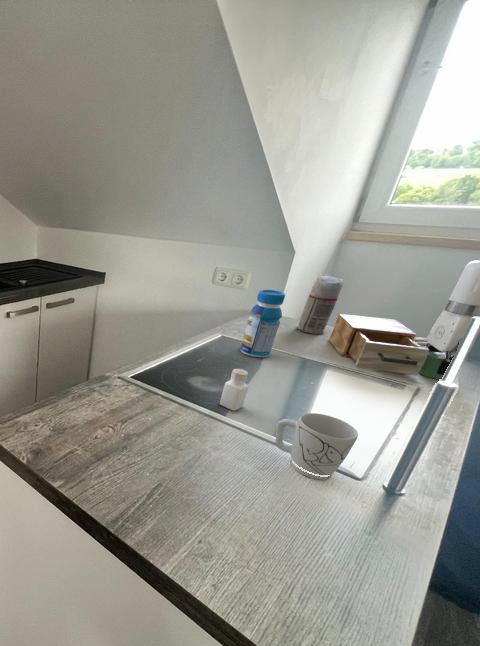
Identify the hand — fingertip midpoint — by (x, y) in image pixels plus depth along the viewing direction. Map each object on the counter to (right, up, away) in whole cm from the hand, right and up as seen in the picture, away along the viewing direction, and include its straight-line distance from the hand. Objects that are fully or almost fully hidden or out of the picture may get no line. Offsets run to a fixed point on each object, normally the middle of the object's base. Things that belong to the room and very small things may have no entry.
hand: (435, 367), depth 109 cm
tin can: (0, -2, +1) cm, 2 cm away
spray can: (-8, +13, +34) cm, 37 cm away
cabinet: (-5, +5, +16) cm, 18 cm away
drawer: (-11, +1, +5) cm, 12 cm away
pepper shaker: (-66, -9, -14) cm, 68 cm away
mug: (-64, -18, -34) cm, 75 cm away
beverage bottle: (-41, +4, +16) cm, 44 cm away
